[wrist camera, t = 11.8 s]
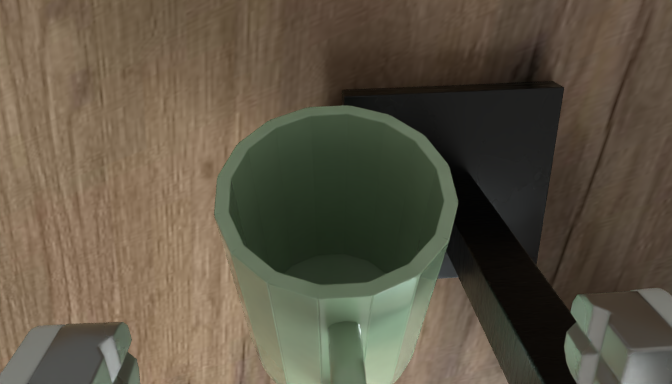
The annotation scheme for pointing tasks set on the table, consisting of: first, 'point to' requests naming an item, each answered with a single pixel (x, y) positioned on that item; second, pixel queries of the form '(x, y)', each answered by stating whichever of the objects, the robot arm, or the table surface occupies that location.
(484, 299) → the mug stand
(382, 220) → the green mug
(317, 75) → the table surface
